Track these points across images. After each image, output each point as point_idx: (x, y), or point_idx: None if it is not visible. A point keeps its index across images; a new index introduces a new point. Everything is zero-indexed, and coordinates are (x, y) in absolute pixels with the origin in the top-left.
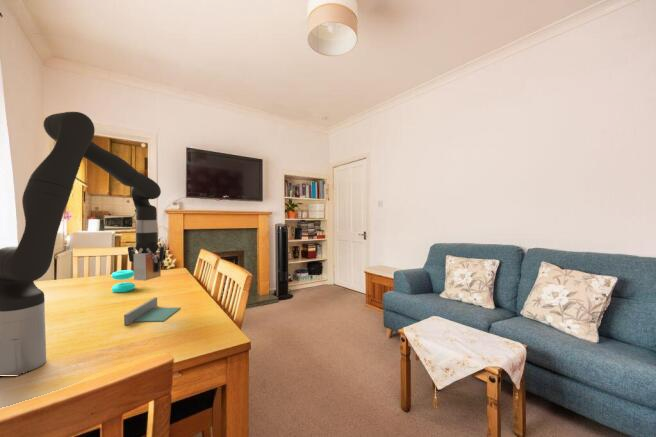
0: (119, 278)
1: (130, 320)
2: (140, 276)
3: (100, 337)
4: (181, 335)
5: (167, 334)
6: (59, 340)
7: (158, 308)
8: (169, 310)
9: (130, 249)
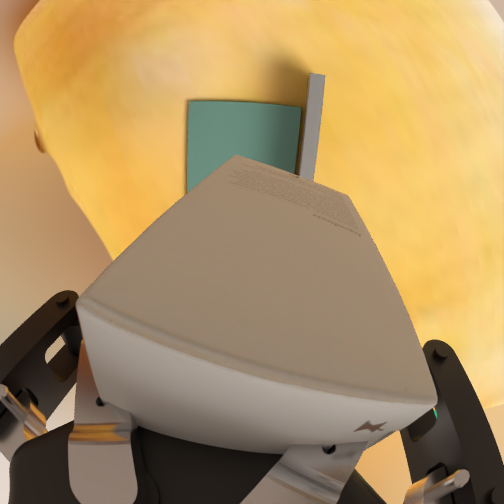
0: (435, 411)
1: (307, 94)
2: (283, 175)
3: (341, 2)
4: (104, 20)
5: (139, 17)
6: (444, 24)
7: None
8: None
9: (480, 490)
